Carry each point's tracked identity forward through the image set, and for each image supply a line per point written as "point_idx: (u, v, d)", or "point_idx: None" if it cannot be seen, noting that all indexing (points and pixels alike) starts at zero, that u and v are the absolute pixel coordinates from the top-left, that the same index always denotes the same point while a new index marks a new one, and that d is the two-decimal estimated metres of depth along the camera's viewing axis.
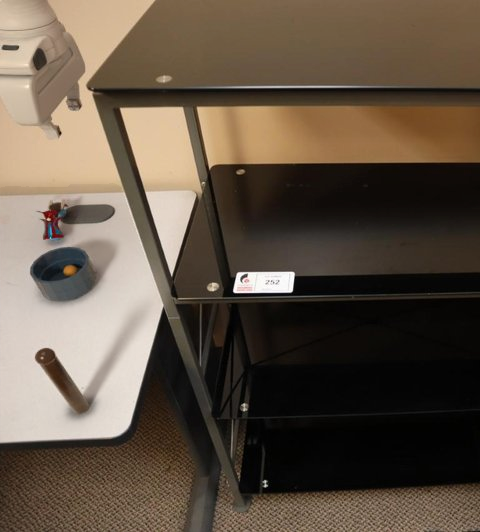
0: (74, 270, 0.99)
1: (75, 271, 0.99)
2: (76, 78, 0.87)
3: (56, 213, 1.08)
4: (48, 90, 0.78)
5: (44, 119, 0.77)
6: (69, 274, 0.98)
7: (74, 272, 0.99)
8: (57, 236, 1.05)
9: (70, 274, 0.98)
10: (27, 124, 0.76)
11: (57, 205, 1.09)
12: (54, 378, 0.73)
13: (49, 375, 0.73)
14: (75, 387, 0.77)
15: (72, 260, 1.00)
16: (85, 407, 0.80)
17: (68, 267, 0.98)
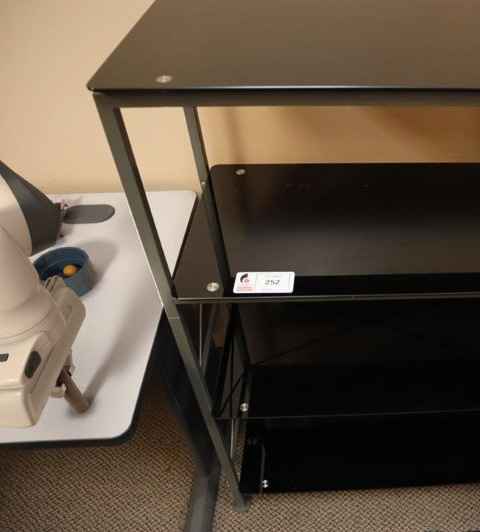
0: (74, 270, 0.99)
1: (75, 271, 0.99)
2: (76, 333, 0.76)
3: None
4: (43, 378, 0.68)
5: (38, 417, 0.67)
6: (69, 274, 0.98)
7: (74, 272, 0.99)
8: None
9: (70, 274, 0.98)
10: (18, 427, 0.66)
11: (57, 205, 1.09)
12: None
13: None
14: (75, 387, 0.77)
15: (72, 260, 1.00)
16: (85, 407, 0.80)
17: (68, 267, 0.98)
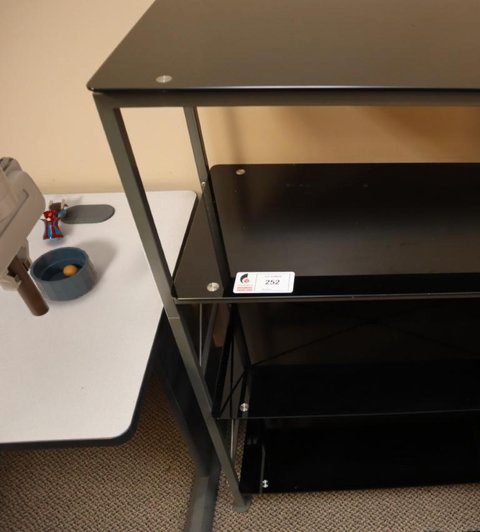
0: (74, 270, 0.99)
1: (75, 271, 0.99)
2: (33, 223, 0.70)
3: (56, 213, 1.08)
4: None
5: None
6: (69, 274, 0.98)
7: (74, 272, 0.99)
8: (57, 236, 1.05)
9: (70, 274, 0.98)
10: None
11: (57, 205, 1.09)
12: (7, 268, 0.68)
13: None
14: (32, 283, 0.71)
15: (72, 260, 1.00)
16: (44, 309, 0.75)
17: (68, 267, 0.98)
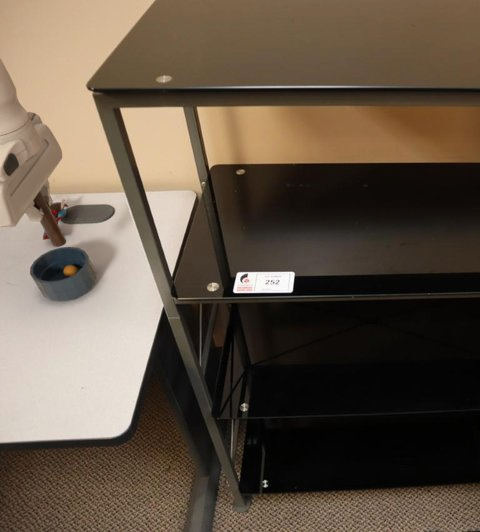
0: (74, 270, 0.99)
1: (75, 271, 0.99)
2: (53, 167, 0.87)
3: (56, 213, 1.08)
4: (21, 188, 0.78)
5: (17, 219, 0.77)
6: (69, 274, 0.98)
7: (74, 272, 0.99)
8: None
9: (70, 274, 0.98)
10: (0, 226, 0.76)
11: (57, 205, 1.09)
12: None
13: None
14: (53, 217, 0.88)
15: (72, 260, 1.00)
16: (62, 240, 0.91)
17: (68, 267, 0.98)
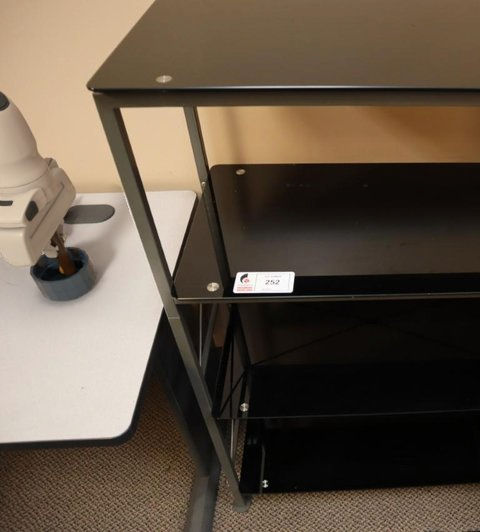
0: None
1: None
2: (67, 207, 0.94)
3: None
4: (40, 230, 0.85)
5: (36, 259, 0.84)
6: None
7: None
8: None
9: None
10: (21, 265, 0.83)
11: None
12: (50, 239, 0.91)
13: None
14: (67, 253, 0.95)
15: (72, 260, 1.00)
16: None
17: None
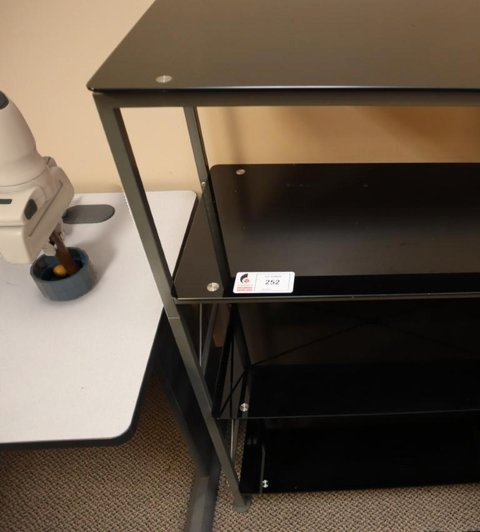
0: (58, 267, 0.98)
1: (59, 268, 0.98)
2: (66, 206, 0.94)
3: None
4: (39, 228, 0.86)
5: (35, 257, 0.85)
6: (54, 272, 0.98)
7: (57, 269, 0.98)
8: None
9: (55, 272, 0.98)
10: None
11: None
12: None
13: None
14: (67, 251, 0.95)
15: None
16: None
17: None
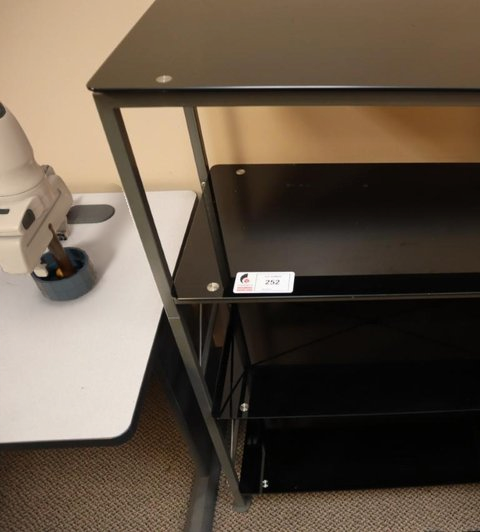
0: None
1: None
2: (64, 214, 0.94)
3: None
4: (37, 238, 0.85)
5: (33, 267, 0.84)
6: (58, 276, 0.98)
7: None
8: None
9: (59, 276, 0.98)
10: None
11: None
12: (51, 247, 0.91)
13: None
14: (68, 260, 0.95)
15: (72, 260, 1.00)
16: None
17: None
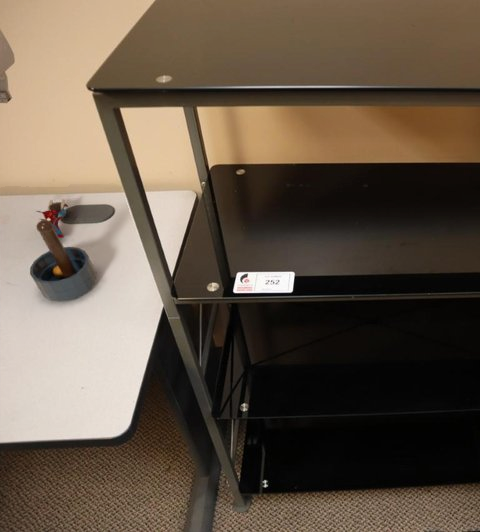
0: (57, 268, 0.98)
1: (58, 269, 0.98)
2: (3, 69, 0.83)
3: (56, 213, 1.08)
4: None
5: None
6: (54, 273, 0.98)
7: (57, 270, 0.98)
8: None
9: (54, 273, 0.98)
10: None
11: (57, 205, 1.09)
12: (51, 247, 0.91)
13: (47, 244, 0.90)
14: (69, 260, 0.95)
15: (72, 260, 1.00)
16: None
17: None
